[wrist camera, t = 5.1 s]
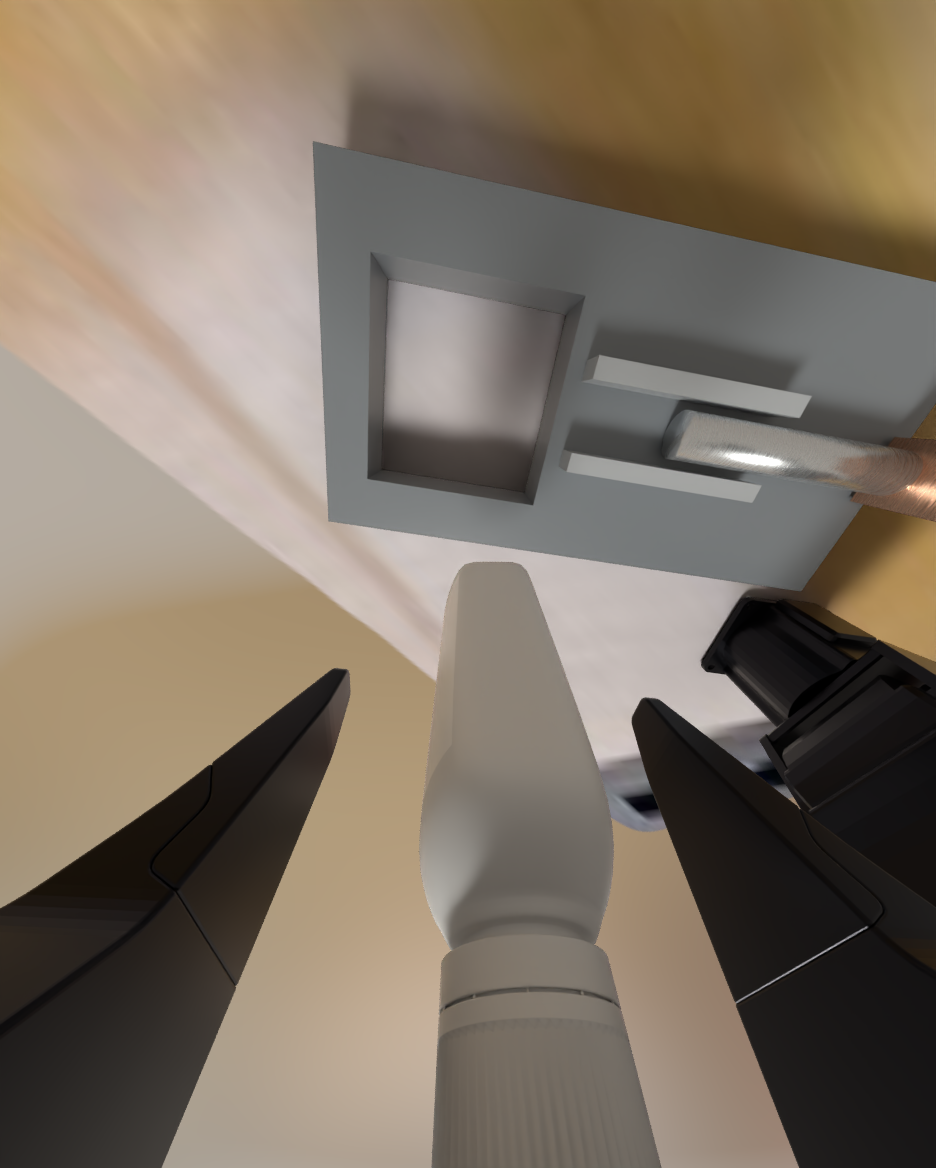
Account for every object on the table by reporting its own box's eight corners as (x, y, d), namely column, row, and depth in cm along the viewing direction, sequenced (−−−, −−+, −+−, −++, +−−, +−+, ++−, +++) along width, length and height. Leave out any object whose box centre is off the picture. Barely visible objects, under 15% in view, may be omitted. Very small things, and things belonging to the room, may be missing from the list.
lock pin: (874, 505, 17) (984, 531, 13) (651, 467, 16) (704, 483, 12) (920, 442, 16) (1057, 452, 12) (679, 396, 15) (748, 392, 11)
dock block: (761, 569, 22) (825, 604, 18) (347, 506, 20) (317, 530, 16) (920, 317, 16) (1071, 286, 12) (342, 192, 14) (291, 105, 10)
